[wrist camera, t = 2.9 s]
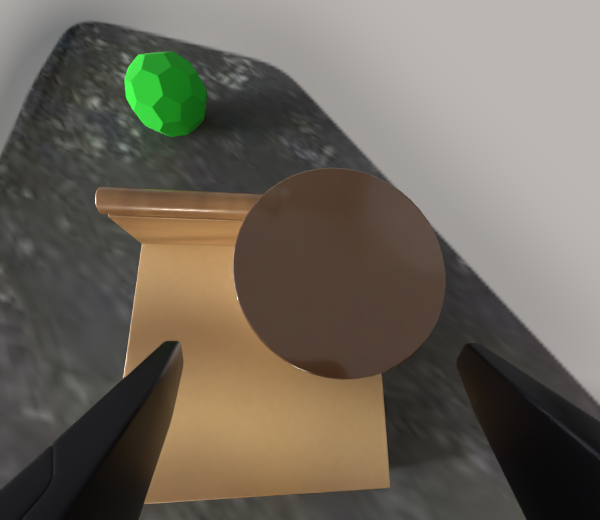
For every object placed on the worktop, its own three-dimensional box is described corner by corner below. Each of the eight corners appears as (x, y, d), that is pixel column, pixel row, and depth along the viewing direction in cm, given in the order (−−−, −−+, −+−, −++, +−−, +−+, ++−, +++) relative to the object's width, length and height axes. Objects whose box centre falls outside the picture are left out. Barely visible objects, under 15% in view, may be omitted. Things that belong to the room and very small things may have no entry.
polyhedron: (207, 154, 22) (191, 104, 17) (136, 145, 21) (101, 92, 17) (216, 98, 23) (204, 38, 18) (150, 89, 23) (121, 25, 18)
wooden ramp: (377, 472, 17) (450, 557, 11) (124, 487, 16) (16, 598, 9) (361, 243, 21) (408, 196, 14) (156, 237, 20) (96, 181, 13)
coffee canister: (363, 336, 17) (483, 329, 8) (269, 374, 16) (276, 420, 7) (327, 246, 19) (392, 146, 9) (237, 276, 18) (204, 197, 8)
